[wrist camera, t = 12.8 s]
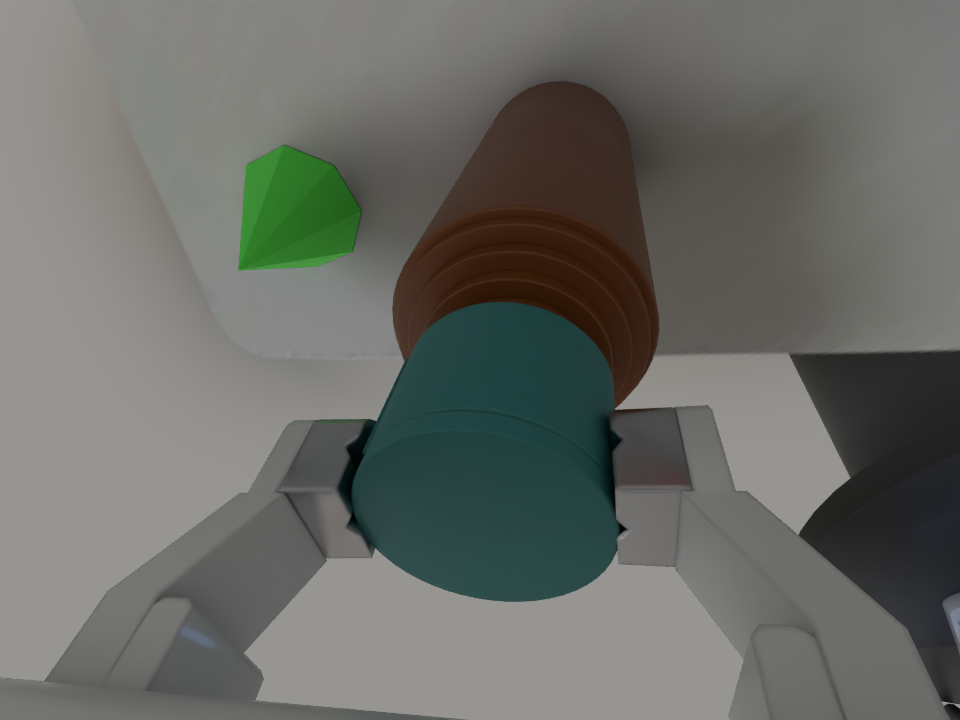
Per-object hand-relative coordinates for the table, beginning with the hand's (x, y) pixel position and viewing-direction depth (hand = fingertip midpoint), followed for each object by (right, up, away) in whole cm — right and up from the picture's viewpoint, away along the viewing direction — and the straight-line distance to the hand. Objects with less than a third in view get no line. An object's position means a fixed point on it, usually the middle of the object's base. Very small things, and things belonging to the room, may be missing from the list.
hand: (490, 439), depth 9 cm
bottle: (+3, +10, +13) cm, 17 cm away
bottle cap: (0, +1, +1) cm, 2 cm away
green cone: (-9, +9, +16) cm, 21 cm away
